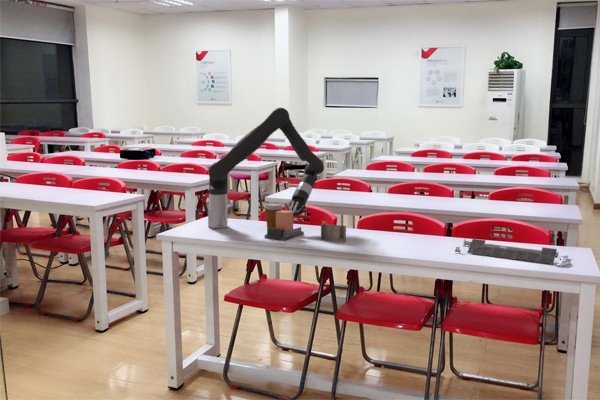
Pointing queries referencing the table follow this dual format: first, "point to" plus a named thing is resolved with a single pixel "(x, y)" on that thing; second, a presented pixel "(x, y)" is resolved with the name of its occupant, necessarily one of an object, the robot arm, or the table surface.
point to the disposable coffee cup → (272, 213)
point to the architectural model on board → (333, 232)
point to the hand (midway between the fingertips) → (288, 221)
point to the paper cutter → (512, 252)
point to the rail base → (283, 233)
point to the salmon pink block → (284, 220)
